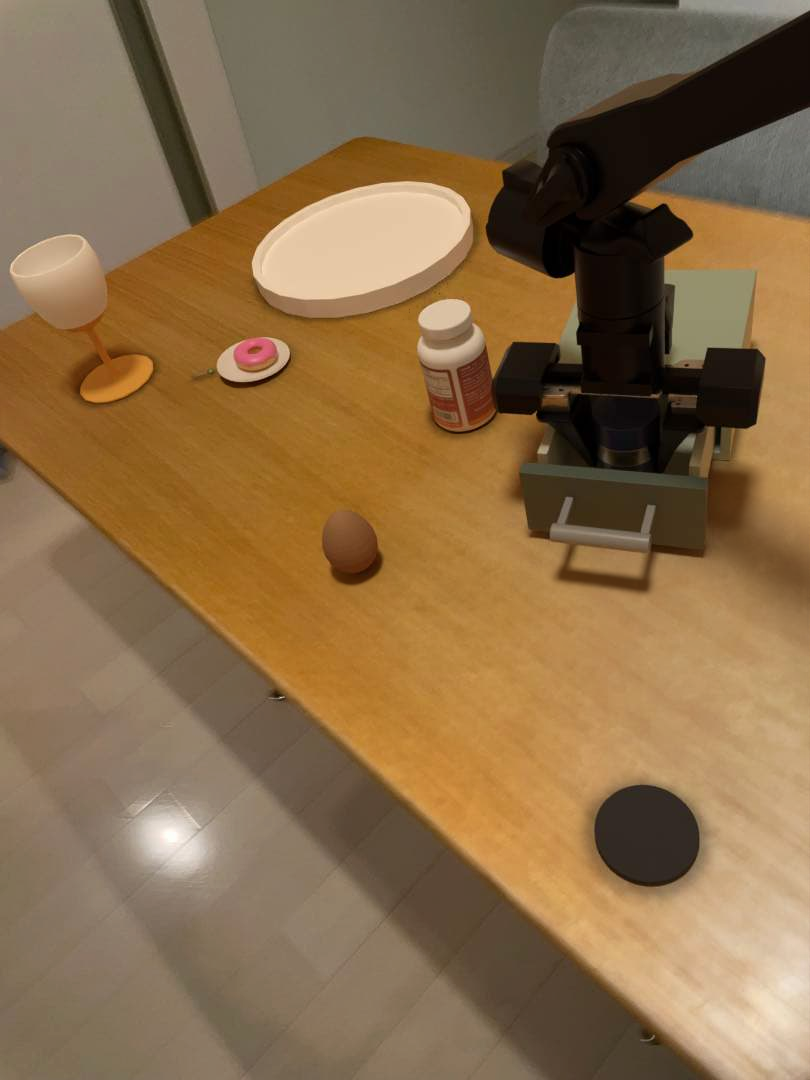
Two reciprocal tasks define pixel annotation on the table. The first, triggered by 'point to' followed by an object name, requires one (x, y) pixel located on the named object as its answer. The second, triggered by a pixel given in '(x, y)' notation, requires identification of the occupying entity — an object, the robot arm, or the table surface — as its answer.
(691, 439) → the drawer
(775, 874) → the table surface
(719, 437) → the pale olive box
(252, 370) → the donut
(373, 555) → the egg
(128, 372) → the cup
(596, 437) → the can
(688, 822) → the coaster
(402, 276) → the plate
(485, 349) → the pill bottle
